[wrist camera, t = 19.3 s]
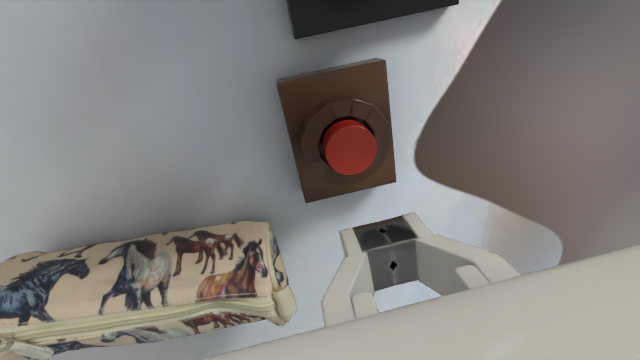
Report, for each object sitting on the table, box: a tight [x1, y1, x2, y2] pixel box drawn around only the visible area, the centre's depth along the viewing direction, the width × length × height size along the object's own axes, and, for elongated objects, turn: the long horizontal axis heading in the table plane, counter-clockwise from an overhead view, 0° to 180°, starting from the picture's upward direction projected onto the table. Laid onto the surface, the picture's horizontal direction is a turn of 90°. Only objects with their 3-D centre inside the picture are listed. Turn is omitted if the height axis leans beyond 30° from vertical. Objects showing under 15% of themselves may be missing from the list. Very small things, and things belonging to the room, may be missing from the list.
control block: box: [276, 58, 396, 203], centre depth 24 cm, size 10×8×4 cm
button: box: [322, 120, 377, 175], centre depth 22 cm, size 4×4×2 cm
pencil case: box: [0, 221, 298, 360], centre depth 24 cm, size 22×8×10 cm, turn 95°
